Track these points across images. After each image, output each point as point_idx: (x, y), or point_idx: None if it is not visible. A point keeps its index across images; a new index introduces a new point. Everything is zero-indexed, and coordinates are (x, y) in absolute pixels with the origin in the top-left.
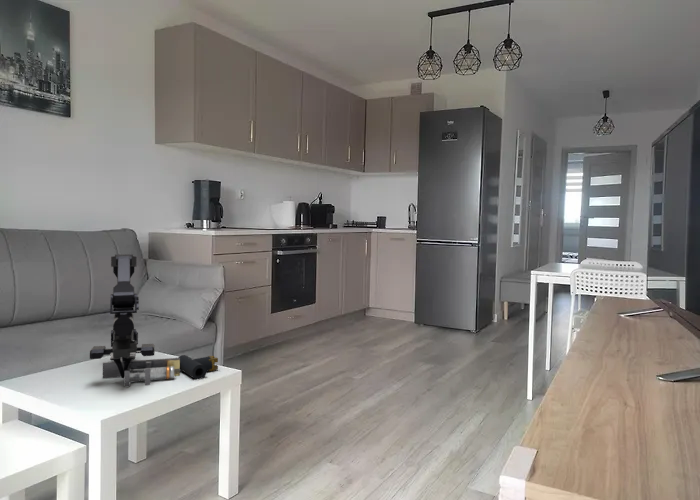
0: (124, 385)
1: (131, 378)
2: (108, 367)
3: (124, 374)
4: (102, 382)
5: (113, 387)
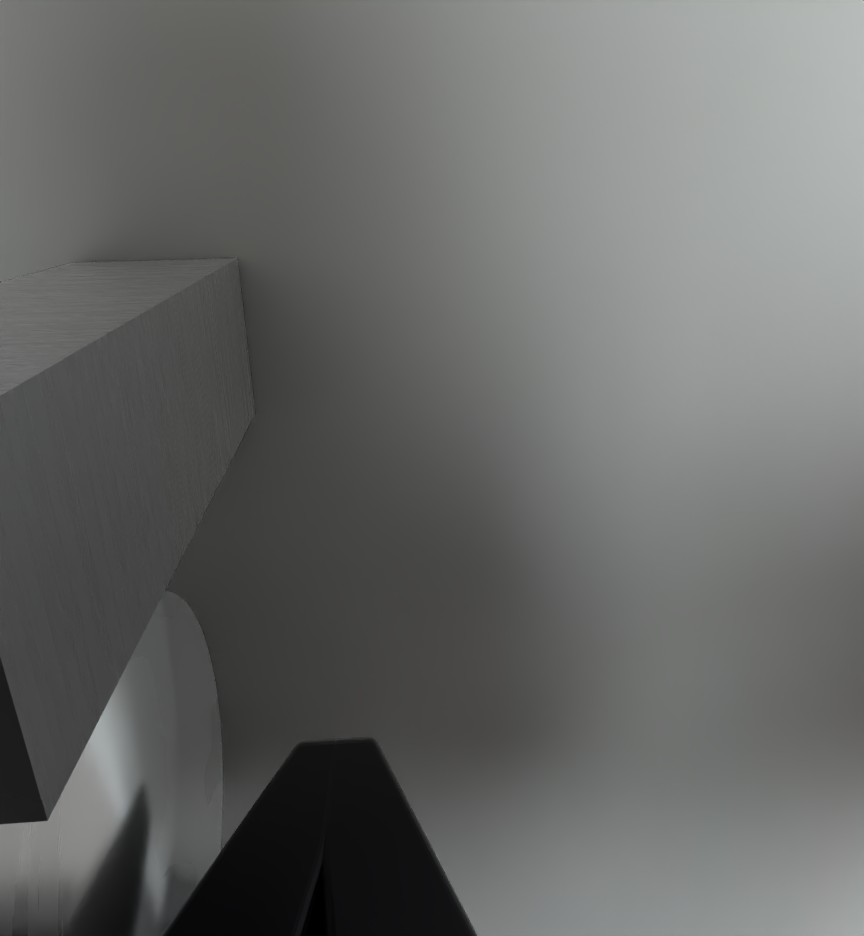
0: (226, 264)
1: None
2: None
3: (74, 344)
4: (820, 754)
5: (566, 276)
